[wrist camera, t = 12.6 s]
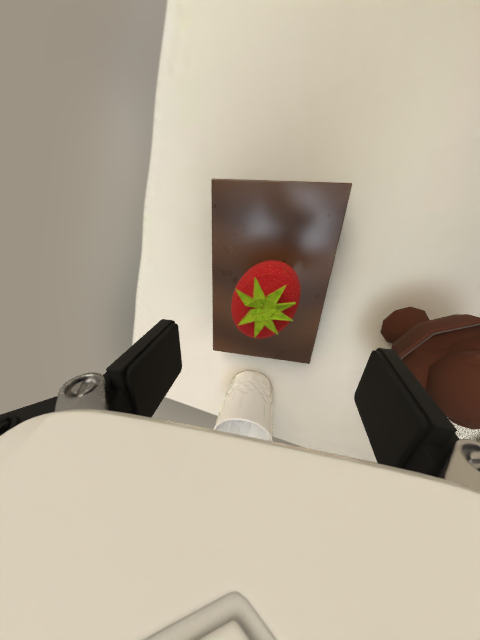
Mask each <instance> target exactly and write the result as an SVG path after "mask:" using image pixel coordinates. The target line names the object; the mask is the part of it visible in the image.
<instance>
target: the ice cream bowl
mask: <svg viewBox="0 0 480 640" xmlns="http://www.w3.org/2000/svg"><path fill="white" fill-rule="evenodd" d="M381 333H382V335H383V336H384V338H385V339H386V341H387V342H389V343H392V347H391V350H394V351H395V352H396V353H397V354H398V356H399V357H400V358H401V359H402V361H403V362H404V363H405V365H406V366H407V367H408V368H409V370H410V371H411V372H412V373H413V375H414V376H415V377H416V379H417V380H418V381H419V382H420V384H421V385H422V386H423V387H424V389H425V390H426V391H427V393H428V394H429V395H430V396H431V398H432V399H433V400H434V401H435V403H436V404H437V405H438V407H439V408H440V409H441V410H442V412H443V413H444V414H445V415H446V417H448V419H449V420H451V421H452V422H453V423H455V424H457V425H460V426H463V427H466V428H470V429H480V318H479V317H475V316H472V315H468V314H464V315H451V316H447V317H442V318H438V319H434V320H429V318H428V316H427V315H426V313H425V311H423V310H420V309H416V308H413V307H408V308H404V309H400V310H396V311H394V312H393V313H392V314H390V315H389V316H388V317H387V318H386V319H385V320H384V321H383V325H382V329H381Z"/></svg>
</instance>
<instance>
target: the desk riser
mask: <svg viewBox="0 0 480 640" xmlns="http://www.w3.org/2000/svg"><path fill="white" fill-rule="evenodd" d="M351 186H352V183H331V182H299V181H268V180H236V179H212V280H213V350H215V351H222V352H229V353H237V354H244V355H251V356H258V357H265V358H272V359H279V360H287V361H294V362H301V363H308V364H309V363H310V360H311V355H312V351H313V347H314V343H315V338H316V334H317V330H318V326H319V322H320V317H321V313H322V309H323V305H324V300H325V296H326V292H327V288H328V283H329V279H330V275H331V271H332V267H333V262H334V258H335V254H336V250H337V245H338V241H339V237H340V233H341V228H342V224H343V220H344V216H345V212H346V207H347V203H348V199H349V195H350V190H351ZM270 260H275V261H281V262H284V263H286V264H287V265H289V266H290V267H291V268H292V269H293V270H294V271H295V272H296V274H297V276H298V278H299V281H300V285H301V295H300V301H299V304H298V307H297V310H296V313H295V315H294V317H293V319H292V320H293V321H290V323H289V324H288V325H287V326H286V327H285V328H284V329H283V330H281V331H280V332H279V333H278V335H277V334H275V335H273V336H271V337H267V338H260V339H258V338H252V337H249V336H246V335H245V334H243V333H242V332H241V331H240V330H239V329H238V328H237V326H236V325H235V323H234V320H233V318H232V312H231V304H232V298H233V293H234V290H235V287H236V285H237V283H238V282H239V280H240V279H241V277H242V276H243V275H244V274H245V273H246V272H247V271H248V270H249V269H250V268H251V267H253V266H255V265H256V264H258V263H261V262H264V261H270Z"/></svg>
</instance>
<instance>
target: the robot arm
mask: <svg viewBox="0 0 480 640" xmlns="http://www.w3.org/2000/svg"><path fill="white" fill-rule="evenodd" d="M181 369H182V361H181V351H180V341H179V331H178V325H177V324H175V322H174V321H172V320H165V319H162V320H161V321H159V322H158V323H157V324H156V325H155V326H154V327H153V328H152V329H150V330H149V331H148V332H147V333H146V334H145V335H144V336H143V337H142V338H140V339H139V340H138V341H137V342H136V343H135V344H134V345H133V346H131V347H130V348H129V349H128V350H127V351H126V352H125V353H124V354H122V355H121V356H120V357H119V358H118V359H117V360H116V361H115V362H113V363H112V364H111V365H110V366H109V367H108V368H107V369H106V370H107V372H106V373H105V374H104V375H101V374H99V373H86V374H82V375H80V376H76V377H74V378H72V379H70V380H69V381H68V382H66V383H65V384H64V385H63V386H62V387H61V388H60V390H59V393H58V396H57V397H53V398H50V399H47V400H44V401H41V402H38V403H35V404H32V405H29V406H26V407H23V408H20V409H17V410H14V411H11V412H7V413H5V414H1V415H0V640H480V442H477V441H474V440H470V439H459V438H458V437H457V435H456V434H455V432H456V431H457V429H456V428H455V427H454V426H453V424H452V423H451V422H450V421H449V419H448V418H447V417H446V415H445V414H444V413H443V412H442V410H441V409H440V408H439V407H438V405H437V404H436V403H435V401H434V400H433V399H432V398H431V396H430V395H429V394H428V393H427V391H426V390H425V389H424V387H423V386H422V385H421V384H420V382H419V381H418V380H417V379H416V377H415V376H414V375H413V373H412V372H411V371H410V370H409V368H408V367H407V366H406V365H405V363H404V362H403V361H402V359H401V358H400V357H399V356H398V354H397V353H396V352H395V351H394V350H391V349H383V348H378V349H377V350H376V351H372V353H371V355H370V357H369V360H368V362H367V365H366V367H365V370H364V372H363V375H362V377H361V380H360V382H359V385H358V387H357V390H356V392H355V396H354V399H355V403H356V406H357V408H358V411H359V414H360V417H361V419H362V422H363V425H364V427H365V430H366V433H367V436H368V438H369V441H370V444H371V446H372V449H373V452H374V454H375V457H376V460H377V463H374V462H369V461H365V460H360V459H355V458H350V457H345V456H341V455H336V454H331V453H326V452H321V451H316V450H312V449H307V448H302V447H297V446H292V445H287V444H282V443H278V442H273V441H268V440H263V439H258V438H253V437H248V436H243V435H238V434H233V433H228V432H223V431H218V430H212V429H208V428H203V427H198V426H193V425H187V424H182V423H177V422H172V421H167V420H162V419H156V418H151V417H152V415H153V414H154V412H155V411H156V409H157V408H158V406H159V405H160V403H161V401H162V400H163V398H164V397H165V395H166V394H167V392H168V391H169V389H170V387H171V386H172V384H173V383H174V381H175V380H176V378H177V377H178V375H179V373H180V372H181Z"/></svg>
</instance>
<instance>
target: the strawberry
mask: <svg viewBox="0 0 480 640" xmlns="http://www.w3.org/2000/svg"><path fill="white" fill-rule="evenodd" d="M300 295H301V285H300V281H299V278H298V276H297V274H296V272H295V271H294V270H293V269H292V268H291V267H290V266H289V265H287V264H286V263H284V262H281V261H275V260H270V261H264V262H261V263H258V264H256V265H255V266H253V267H251V268H250V269H249V270H248V271H247V272H246V273H245V274H244V275H243V276H242V277H241V279H240V280H239V282H238V283H237V285H236V287H235V290H234V293H233V298H232V304H231V312H232V318H233V320H234V323H235V325H236V326H237V328H238V329H239V330H240V331H241V332H242V333H243V334H245V335H246V336H249V337H252V338H258V339H260V338H267V337H271V336H273V335H275V334H277V335H278V333H279V332H280V331H281V330H283V329H284V328H285V327H286V326H287V325H288V324H289V323H290V321H293V320H292V319H293V317H294V315H295V313H296V310H297V307H298V304H299V301H300Z"/></svg>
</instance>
